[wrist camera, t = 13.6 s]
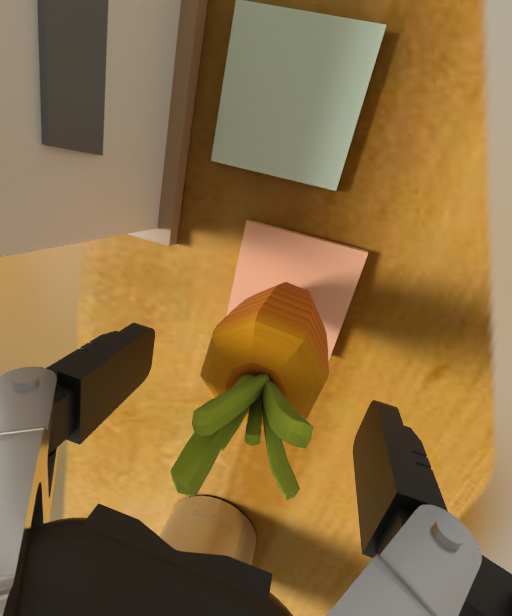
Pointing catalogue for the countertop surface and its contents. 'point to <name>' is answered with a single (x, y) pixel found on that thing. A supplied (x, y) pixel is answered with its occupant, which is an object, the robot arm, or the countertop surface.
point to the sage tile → (293, 91)
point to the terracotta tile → (299, 270)
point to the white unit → (95, 118)
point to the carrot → (259, 384)
